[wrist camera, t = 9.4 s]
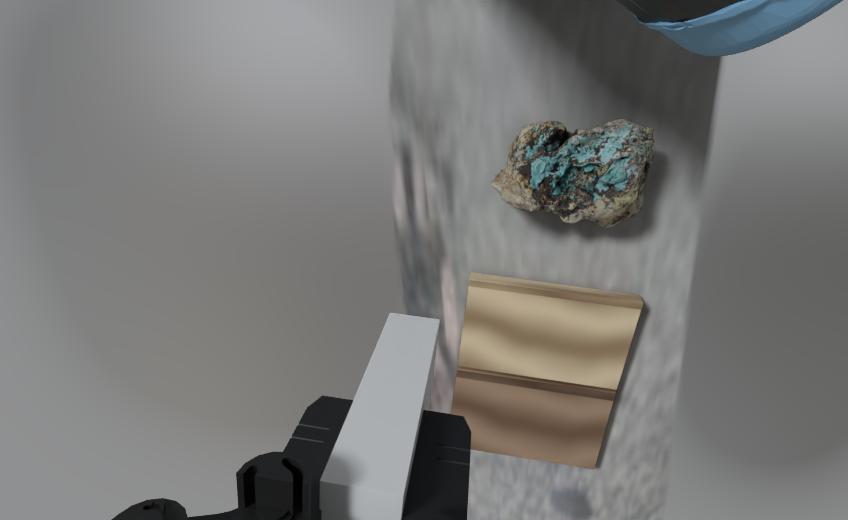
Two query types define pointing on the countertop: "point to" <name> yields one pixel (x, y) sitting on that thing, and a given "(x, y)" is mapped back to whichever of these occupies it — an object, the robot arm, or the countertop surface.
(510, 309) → the board
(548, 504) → the countertop surface
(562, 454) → the floor board
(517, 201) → the mineral specimen
